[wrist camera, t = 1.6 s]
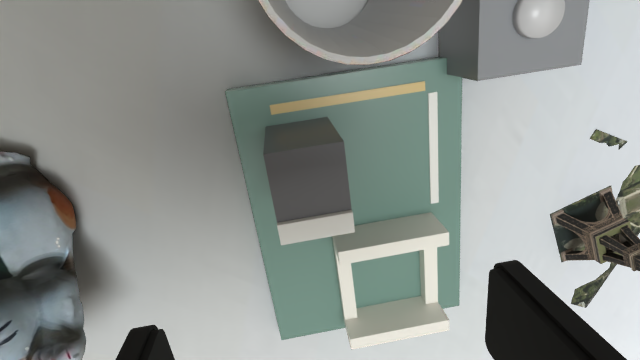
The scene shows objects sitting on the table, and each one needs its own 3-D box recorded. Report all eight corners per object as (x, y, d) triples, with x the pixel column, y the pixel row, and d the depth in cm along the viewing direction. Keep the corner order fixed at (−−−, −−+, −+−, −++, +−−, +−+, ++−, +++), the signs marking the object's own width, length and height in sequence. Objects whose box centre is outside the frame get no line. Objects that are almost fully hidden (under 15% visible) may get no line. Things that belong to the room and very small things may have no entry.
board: (227, 89, 23) (218, 99, 20) (453, 54, 24) (487, 58, 20) (281, 329, 31) (282, 371, 27) (452, 296, 32) (477, 332, 28)
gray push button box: (438, -29, 22) (487, -49, 17) (531, -42, 23) (607, -65, 18) (439, 72, 25) (483, 82, 19) (524, 59, 25) (589, 65, 20)
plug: (265, 126, 23) (262, 156, 18) (327, 116, 24) (344, 142, 18) (279, 197, 25) (281, 245, 19) (336, 187, 25) (355, 232, 20)
